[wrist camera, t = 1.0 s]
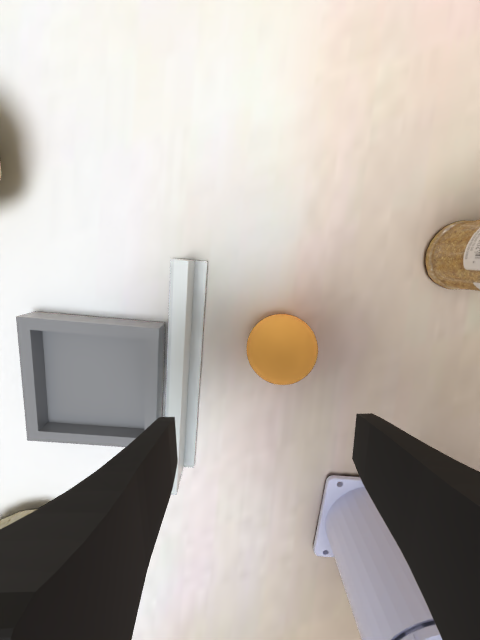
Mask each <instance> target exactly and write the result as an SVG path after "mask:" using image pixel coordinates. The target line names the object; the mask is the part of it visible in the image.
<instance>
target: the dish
mask: <svg viewBox="0 0 480 640" xmlns="http://www.w3.org/2000/svg"><path fill="white" fill-rule="evenodd" d="M16 321H17V332H18V343H19V354H20V365H21V376H22V387H23V398H24V409H25V420H26V431H27V440H29V441H44V442H59V443H73V444H88V445H103V446H117V447H127V446H128V445H129V444H130V443H131V442H132V441H133V440H135V439H136V438H137V437H138V436H139V435H140V434H141V433H142V432H143V431H145V430H146V429H147V428H148V427H149V426H150V425H151V424H152V423H153V422H154V421H155V420H156V419H158V418H159V417H162V409H163V379H164V349H165V323H164V322H153V321H141V320H129V319H118V318H106V317H94V316H83V315H71V314H59V313H48V312H36V311H35V312H31V313H28V314H24V315H20V316H16Z"/></svg>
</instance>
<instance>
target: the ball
mask: <svg viewBox="0 0 480 640" xmlns="http://www.w3.org/2000/svg"><path fill="white" fill-rule="evenodd" d="M317 354H318V345H317V340H316V337H315V335H314V333H313V331H312V330H311V328H310V327H309V326H308V325H307V324H306V323H305V322H304V321H302V320H301V319H299V318H297V317H295V316H292V315H287V314H275V315H271V316H269V317H266V318H264V319H263V320H261V321H260V322H259V323H258V324H256V326H255V327H254V328H253V330H252V331H251V333H250V335H249V337H248V341H247V357H248V360H249V363H250V365H251V367H252V368H253V370H254V371H255V372H256V373H257V374H258V375H259V376H260V377H261V378H262V379H264V380H266V381H268V382H270V383H273V384H278V385H287V384H293V383H295V382H298V381H300V380H301V379H303V378H304V377H306V376H307V375H308V374H309V373H310V371H311V370H312V369H313V367H314V365H315V363H316V360H317Z"/></svg>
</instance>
